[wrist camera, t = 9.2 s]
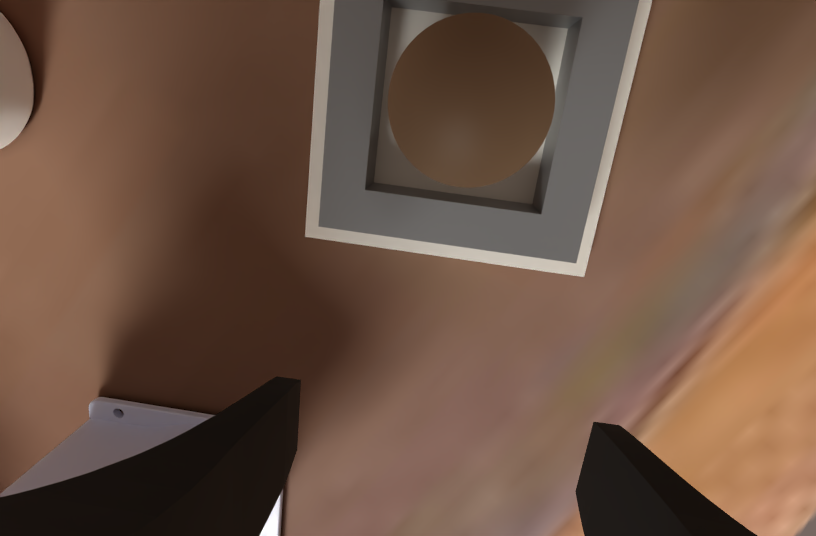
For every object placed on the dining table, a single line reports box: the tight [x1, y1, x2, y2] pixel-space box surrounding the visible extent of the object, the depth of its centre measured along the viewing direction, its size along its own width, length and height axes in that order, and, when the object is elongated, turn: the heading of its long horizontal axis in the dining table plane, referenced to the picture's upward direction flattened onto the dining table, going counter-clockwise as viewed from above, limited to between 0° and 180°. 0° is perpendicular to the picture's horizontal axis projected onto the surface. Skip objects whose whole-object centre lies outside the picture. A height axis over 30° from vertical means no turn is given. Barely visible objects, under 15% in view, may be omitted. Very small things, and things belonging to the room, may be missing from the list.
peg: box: [388, 13, 555, 188], centre depth 15 cm, size 4×4×6 cm
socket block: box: [305, 0, 652, 277], centre depth 17 cm, size 11×11×3 cm
